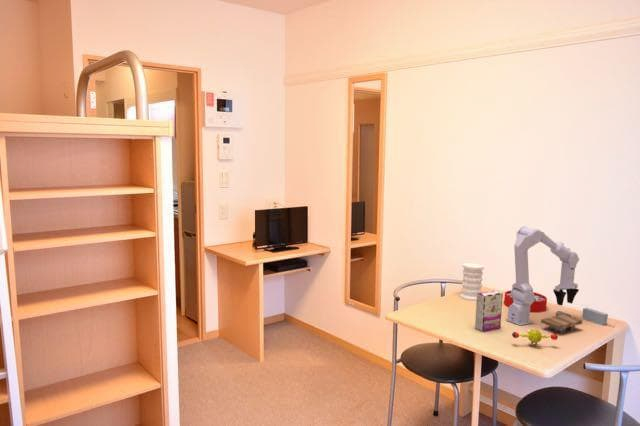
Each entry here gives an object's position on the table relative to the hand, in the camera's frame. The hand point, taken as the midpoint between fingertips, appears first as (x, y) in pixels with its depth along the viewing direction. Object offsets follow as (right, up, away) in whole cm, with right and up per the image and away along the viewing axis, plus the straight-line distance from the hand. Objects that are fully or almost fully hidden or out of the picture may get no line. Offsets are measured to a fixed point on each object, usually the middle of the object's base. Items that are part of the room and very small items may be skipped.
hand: (564, 303), depth 226 cm
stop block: (+13, -8, -2) cm, 15 cm away
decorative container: (-35, -3, +30) cm, 46 cm away
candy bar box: (-43, -8, -16) cm, 46 cm away
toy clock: (-11, -5, +19) cm, 22 cm away
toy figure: (-30, -11, -34) cm, 47 cm away
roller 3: (-6, -9, -12) cm, 16 cm away
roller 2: (-12, -9, -16) cm, 21 cm away
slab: (-9, -6, -15) cm, 18 cm away
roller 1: (0, -7, +1) cm, 7 cm away
